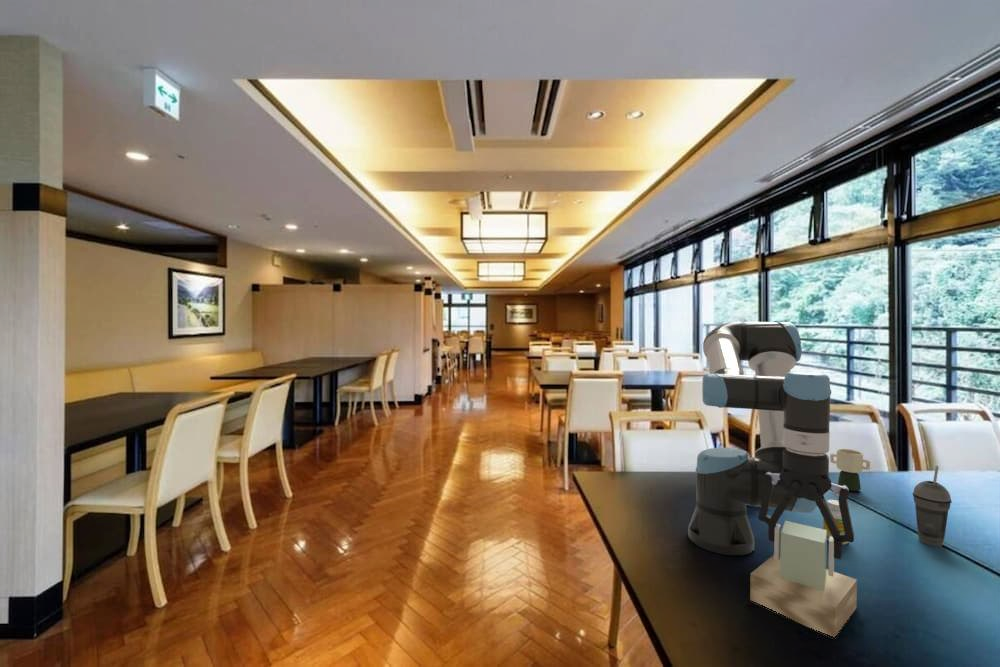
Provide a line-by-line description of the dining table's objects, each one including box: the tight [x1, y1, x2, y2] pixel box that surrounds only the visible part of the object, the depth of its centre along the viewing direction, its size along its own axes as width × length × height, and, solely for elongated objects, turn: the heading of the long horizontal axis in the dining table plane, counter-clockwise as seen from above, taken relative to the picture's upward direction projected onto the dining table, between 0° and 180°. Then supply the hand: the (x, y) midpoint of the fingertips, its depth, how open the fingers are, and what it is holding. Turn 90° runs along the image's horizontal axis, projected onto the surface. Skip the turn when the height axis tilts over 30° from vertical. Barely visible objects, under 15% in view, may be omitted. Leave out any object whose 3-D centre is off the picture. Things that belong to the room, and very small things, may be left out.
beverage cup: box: [912, 465, 952, 548], centre depth 115 cm, size 7×7×20 cm
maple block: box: [749, 552, 858, 637], centre depth 89 cm, size 14×14×6 cm
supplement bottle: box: [822, 499, 850, 545], centre depth 116 cm, size 5×5×10 cm
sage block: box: [780, 520, 828, 591], centre depth 89 cm, size 7×7×9 cm
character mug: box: [829, 448, 871, 492], centre depth 152 cm, size 11×7×13 cm, turn 39°
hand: (803, 565), depth 89 cm, fingers open, 8 cm apart
